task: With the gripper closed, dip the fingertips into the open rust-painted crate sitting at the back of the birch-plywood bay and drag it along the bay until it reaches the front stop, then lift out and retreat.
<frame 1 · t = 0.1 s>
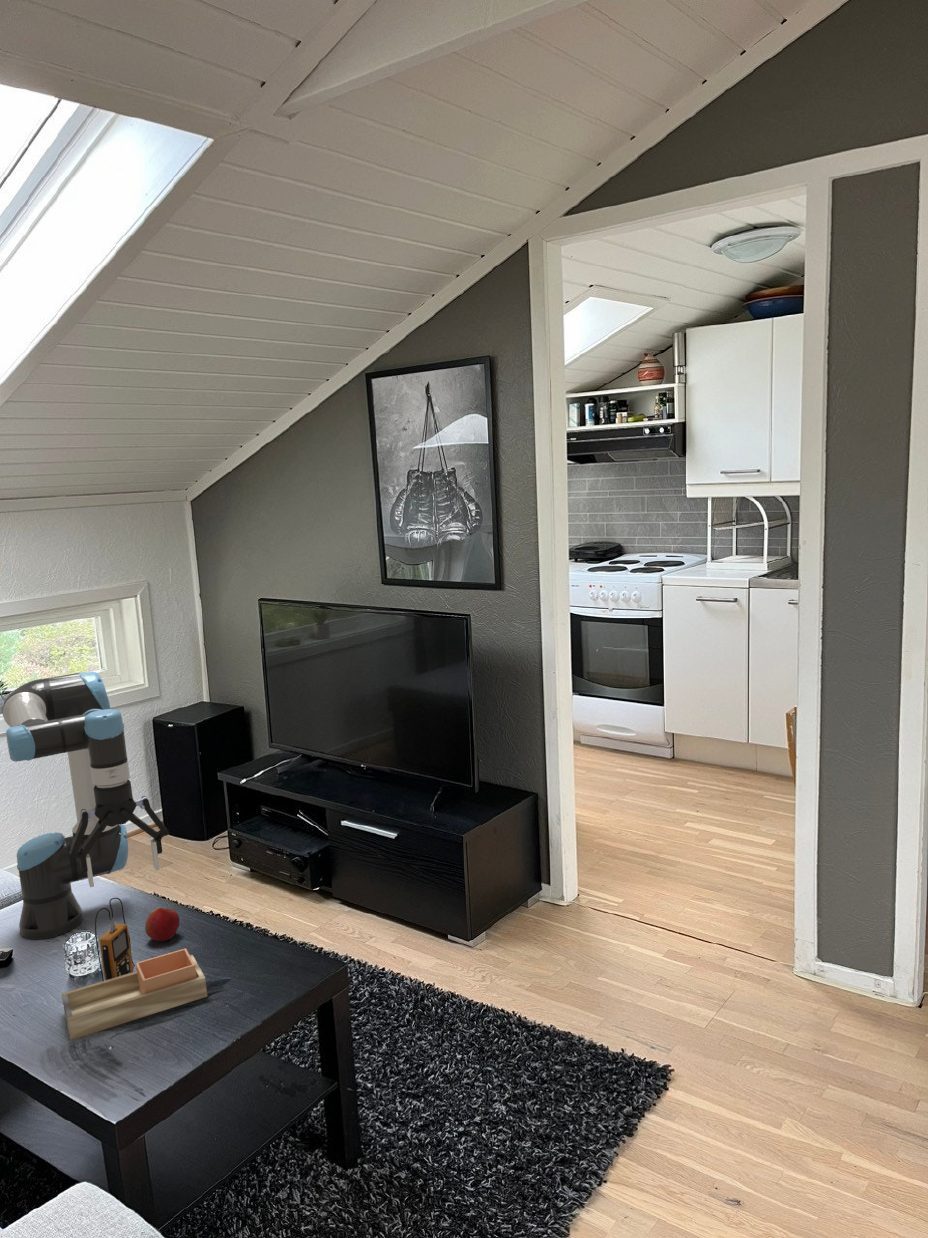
hand: (124, 876, 207), 28 cm above the table, fingers open, 13 cm apart
apple: (164, 939, 237), on the table
crate: (166, 976, 211), point 4 cm above the table, slide at 0.0 cm
bay: (136, 1004, 208), on the table
multimeter: (135, 986, 217), on the table, touching bay
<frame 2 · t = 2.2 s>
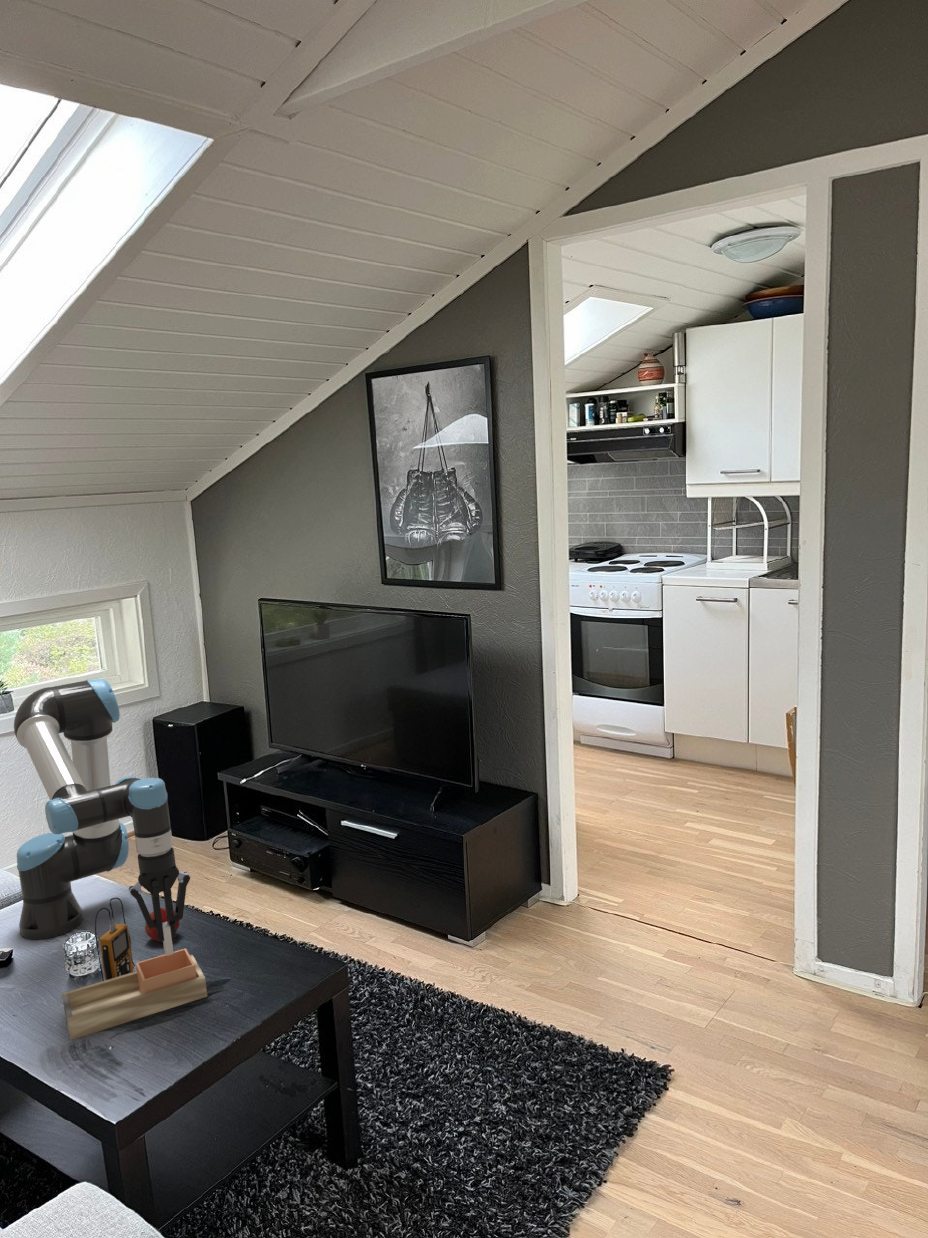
hand: (168, 952, 210), 10 cm above the table, fingers closed
nothing on the table moved.
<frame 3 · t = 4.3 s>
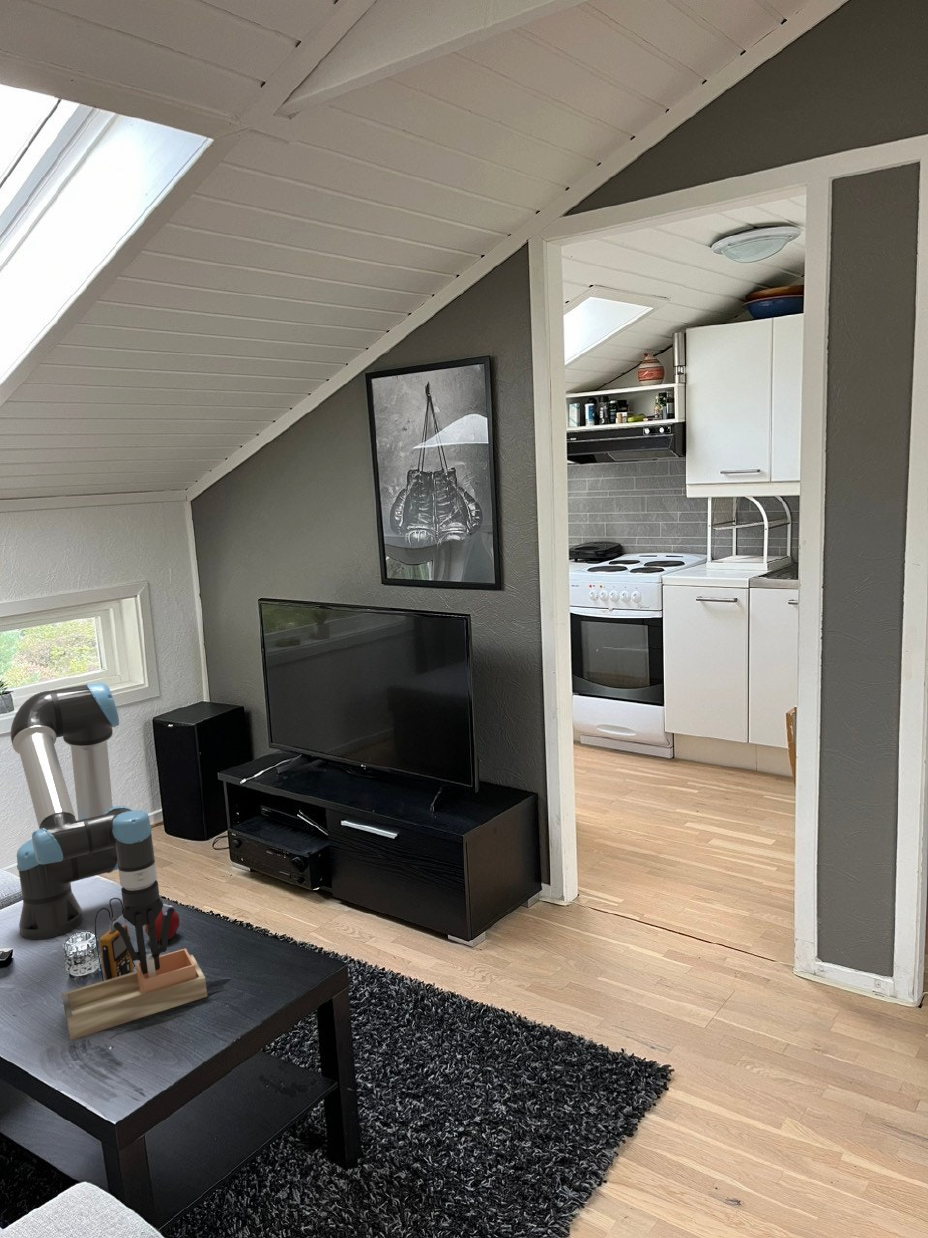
hand: (152, 984, 209), 3 cm above the table, fingers closed
crate: (166, 976, 211), point 4 cm above the table, slide at 0.0 cm, touching gripper
everything else where it was.
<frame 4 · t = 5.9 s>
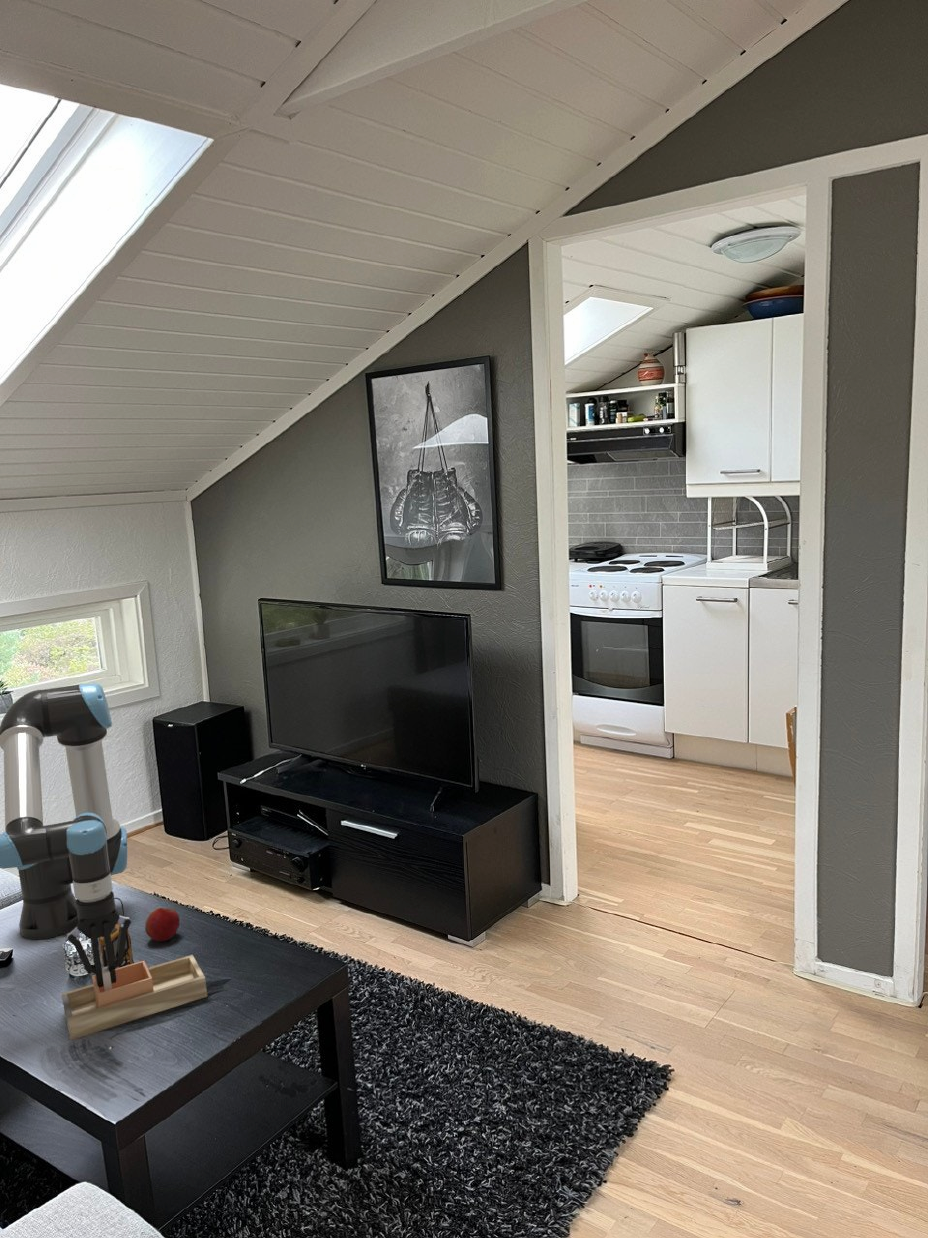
hand: (109, 998, 205), 3 cm above the table, fingers closed
crate: (123, 990, 206), point 4 cm above the table, slide at 9.2 cm, touching gripper
everything else where it was.
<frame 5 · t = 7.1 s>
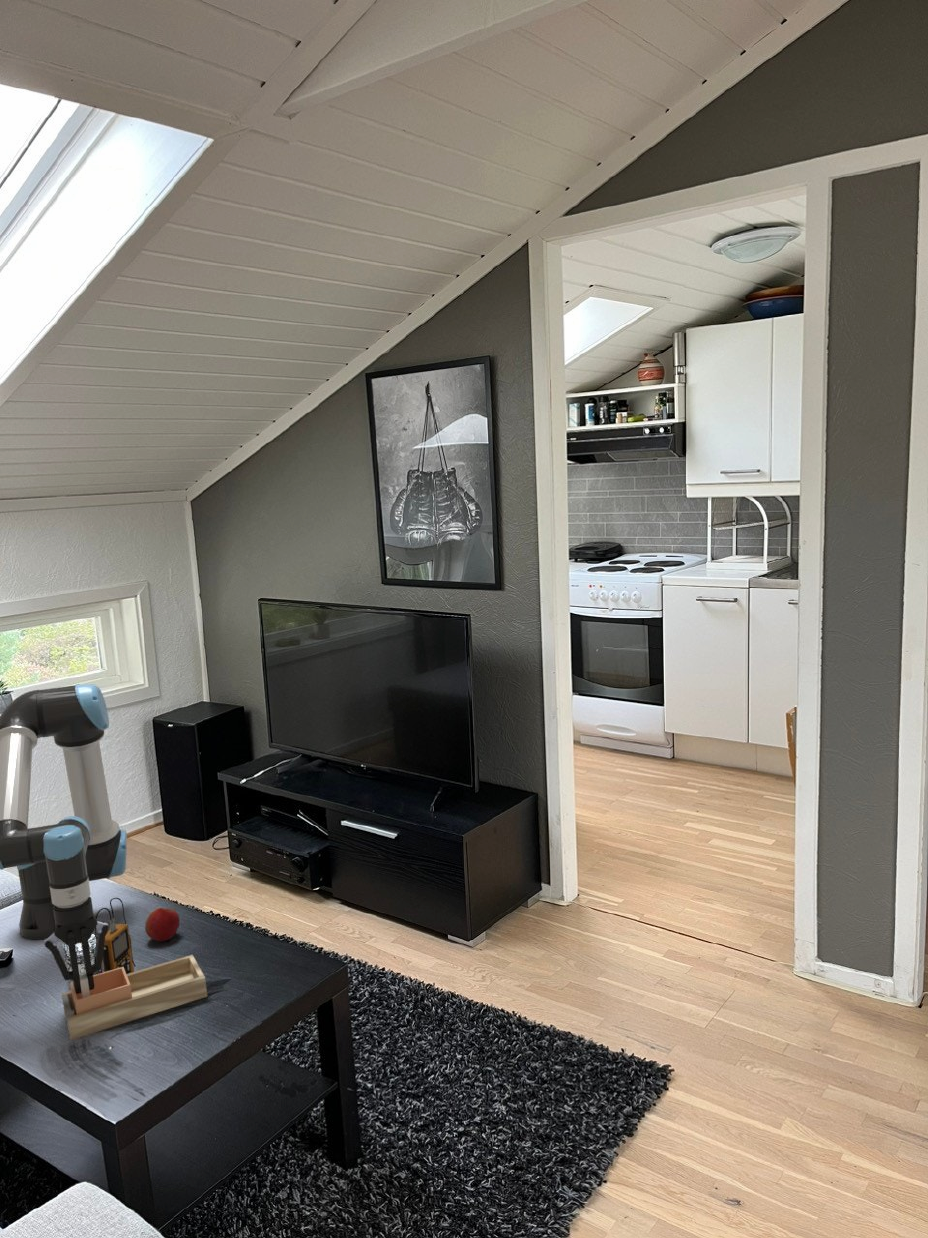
hand: (87, 1004, 203), 3 cm above the table, fingers closed
crate: (101, 996, 204), point 4 cm above the table, slide at 13.6 cm, touching gripper
everything else where it was.
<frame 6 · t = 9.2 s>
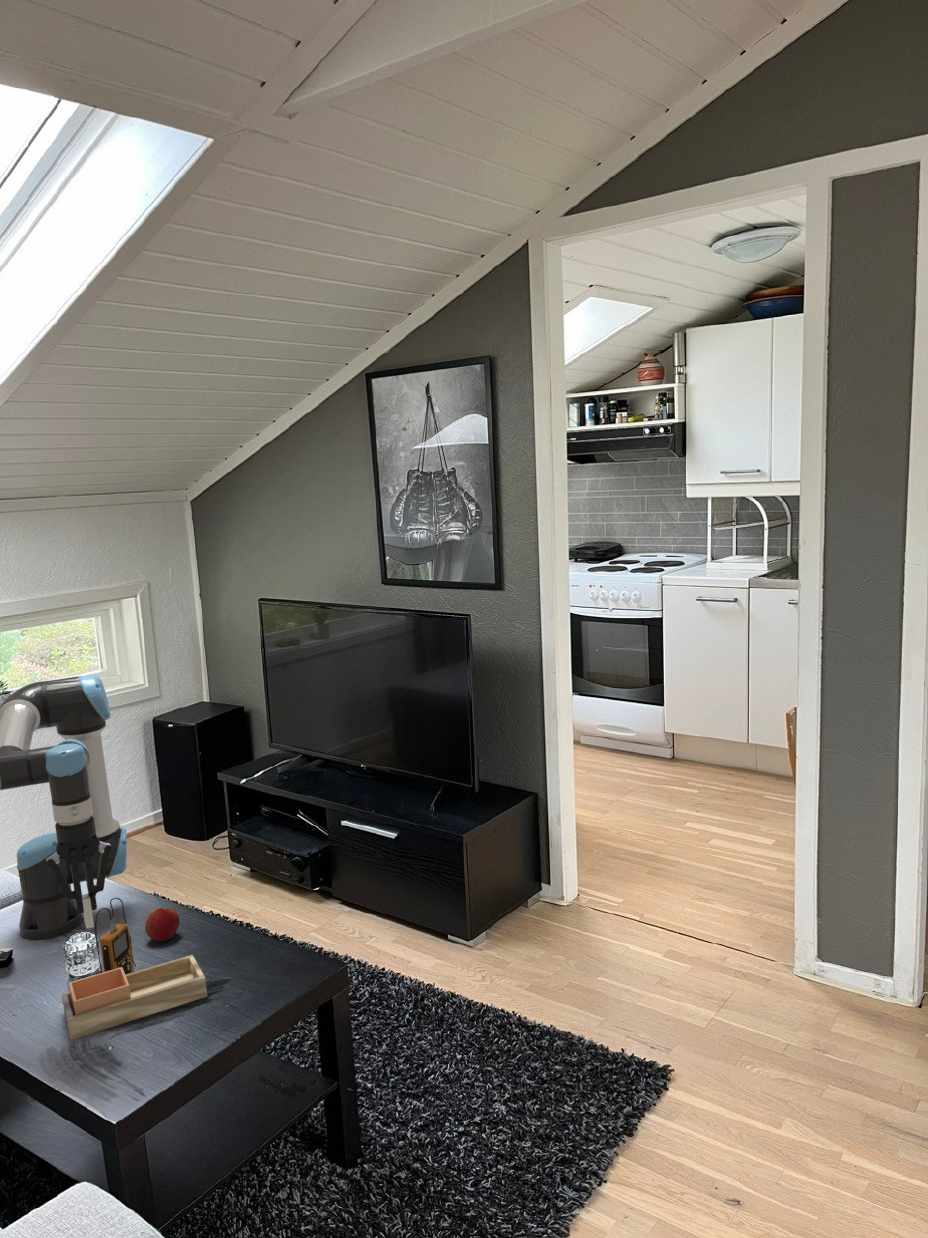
hand: (89, 925, 202), 20 cm above the table, fingers closed
crate: (100, 997, 204), point 4 cm above the table, slide at 13.9 cm
everything else where it was.
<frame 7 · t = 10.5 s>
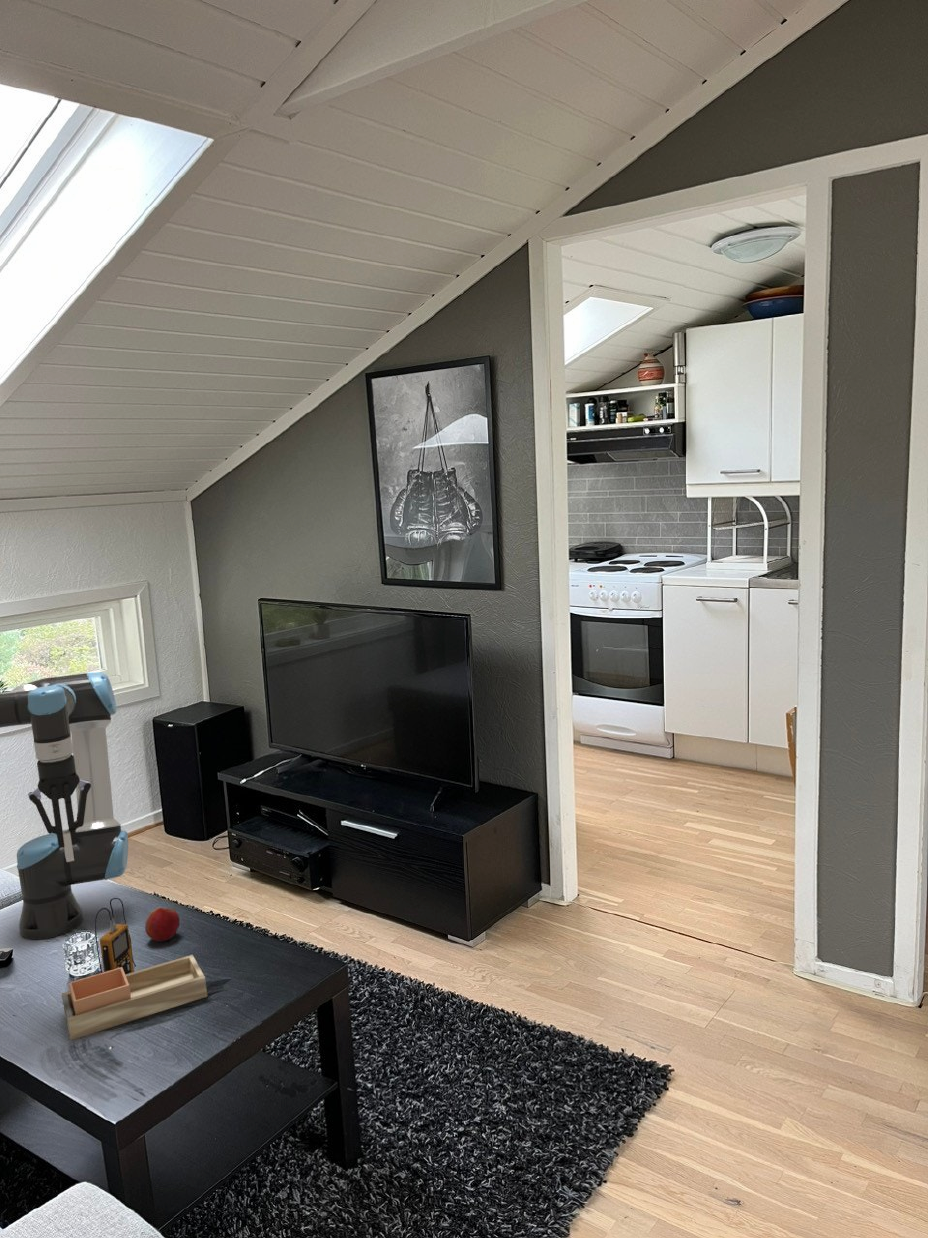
hand: (69, 859, 212), 30 cm above the table, fingers closed
nothing on the table moved.
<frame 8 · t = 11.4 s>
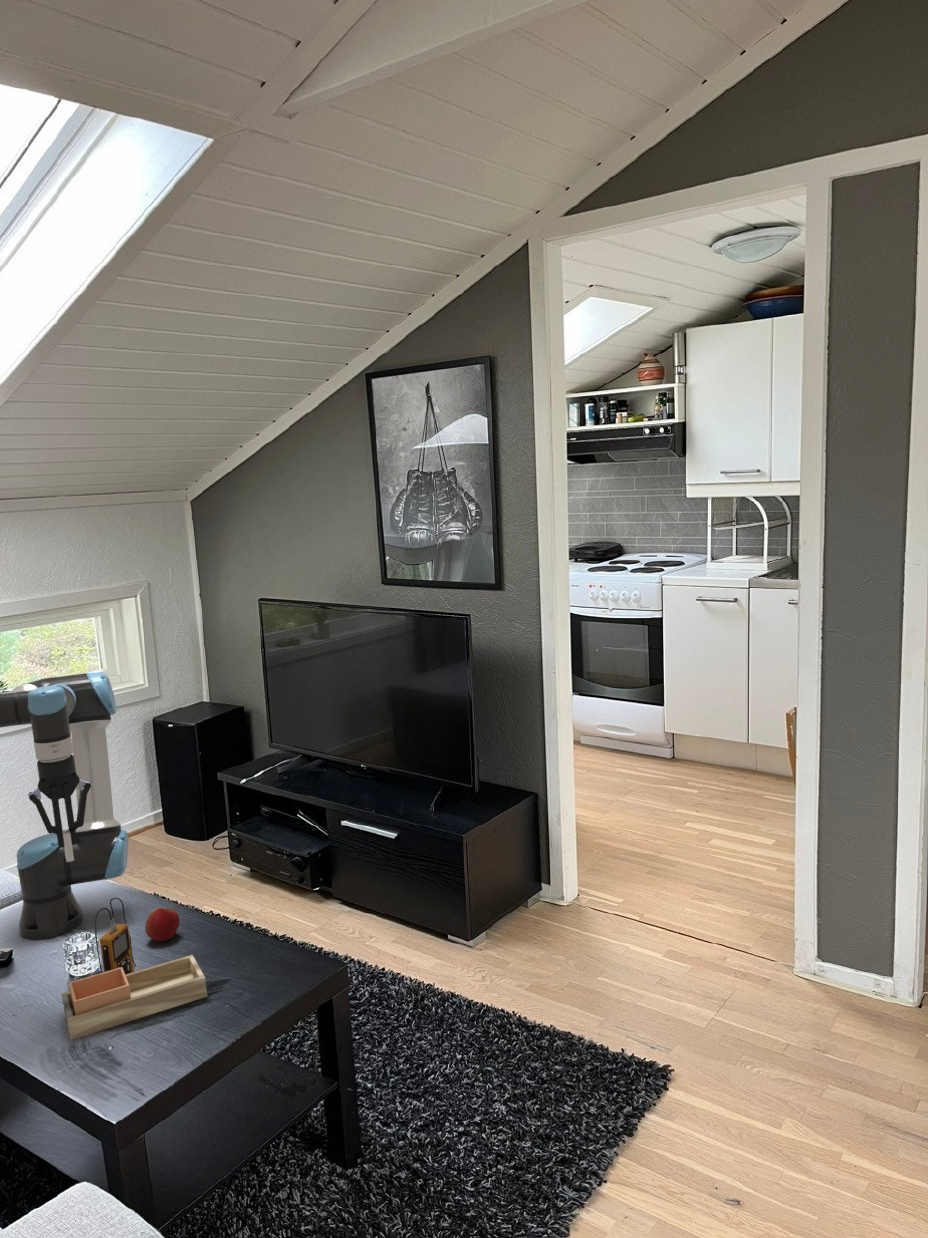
hand: (69, 859, 212), 30 cm above the table, fingers closed
nothing on the table moved.
at the end: crate slide at 13.9 cm; crate touching nothing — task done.
